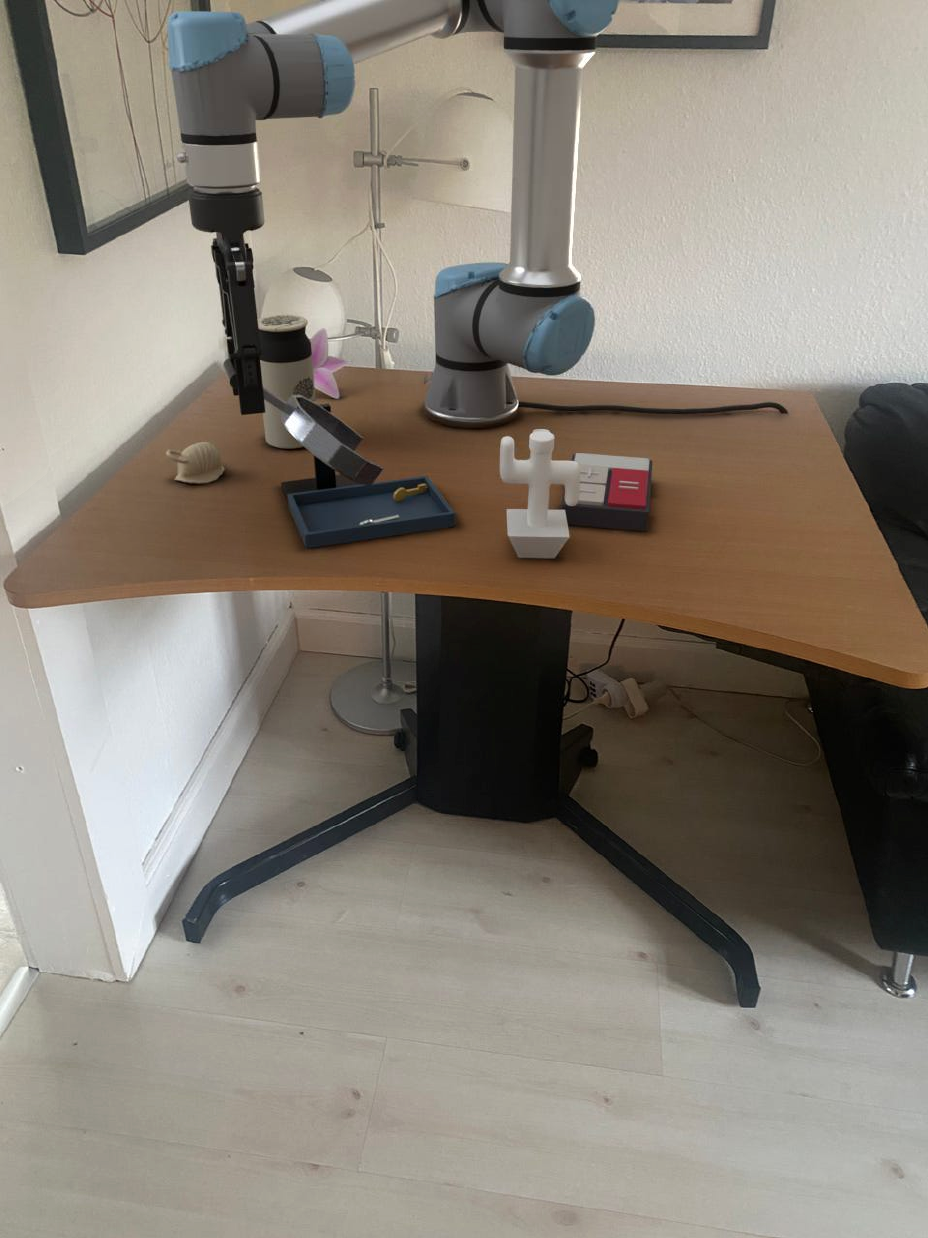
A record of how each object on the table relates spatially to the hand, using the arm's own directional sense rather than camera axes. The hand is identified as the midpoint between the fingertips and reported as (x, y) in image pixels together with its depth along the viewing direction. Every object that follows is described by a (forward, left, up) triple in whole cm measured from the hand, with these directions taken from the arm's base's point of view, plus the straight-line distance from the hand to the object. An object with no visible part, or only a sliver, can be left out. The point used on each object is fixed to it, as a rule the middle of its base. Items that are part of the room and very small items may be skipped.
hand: (248, 402), depth 111 cm
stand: (-10, -10, -17) cm, 22 cm away
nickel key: (-14, +4, -15) cm, 21 cm away
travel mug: (-9, -29, -17) cm, 35 cm away
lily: (-16, -49, -17) cm, 54 cm away
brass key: (-20, -3, -16) cm, 26 cm away
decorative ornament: (+6, -19, -17) cm, 26 cm away
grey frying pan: (-5, 0, -4) cm, 7 cm away
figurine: (-31, +15, -17) cm, 38 cm away
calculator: (-45, +6, -17) cm, 48 cm away
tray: (-14, 0, -17) cm, 22 cm away
